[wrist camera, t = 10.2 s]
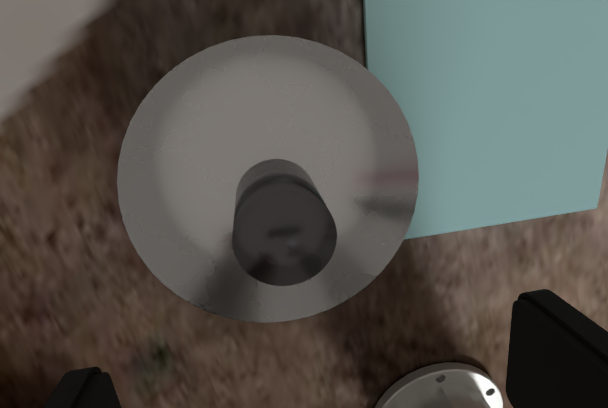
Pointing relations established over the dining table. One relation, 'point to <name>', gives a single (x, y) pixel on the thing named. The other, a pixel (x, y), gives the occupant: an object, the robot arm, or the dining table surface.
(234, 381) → the dining table surface
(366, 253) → the metal lid
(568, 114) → the teal mat
